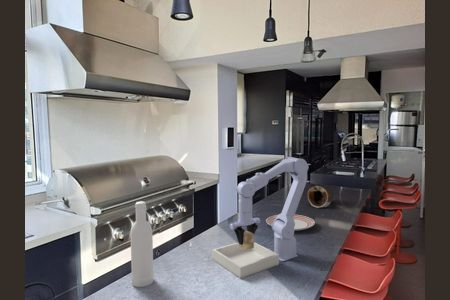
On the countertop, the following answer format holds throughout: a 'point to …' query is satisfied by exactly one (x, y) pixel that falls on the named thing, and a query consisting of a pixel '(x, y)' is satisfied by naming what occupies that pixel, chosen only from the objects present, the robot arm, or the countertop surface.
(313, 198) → the clay pot
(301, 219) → the dinner plate
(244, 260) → the bin
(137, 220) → the bottle
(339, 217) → the countertop surface
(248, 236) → the maple block
